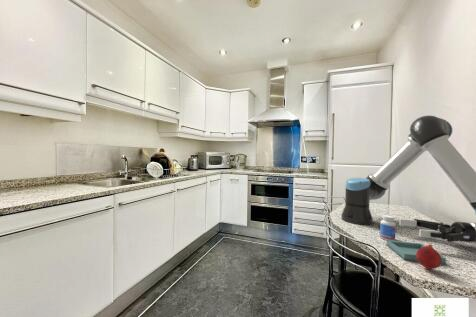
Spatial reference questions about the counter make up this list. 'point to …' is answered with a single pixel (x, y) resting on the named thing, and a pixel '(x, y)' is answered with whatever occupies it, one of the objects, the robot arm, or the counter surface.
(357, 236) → the counter surface
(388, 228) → the pill bottle
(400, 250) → the tray
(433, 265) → the onion
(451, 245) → the counter surface
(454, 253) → the counter surface
